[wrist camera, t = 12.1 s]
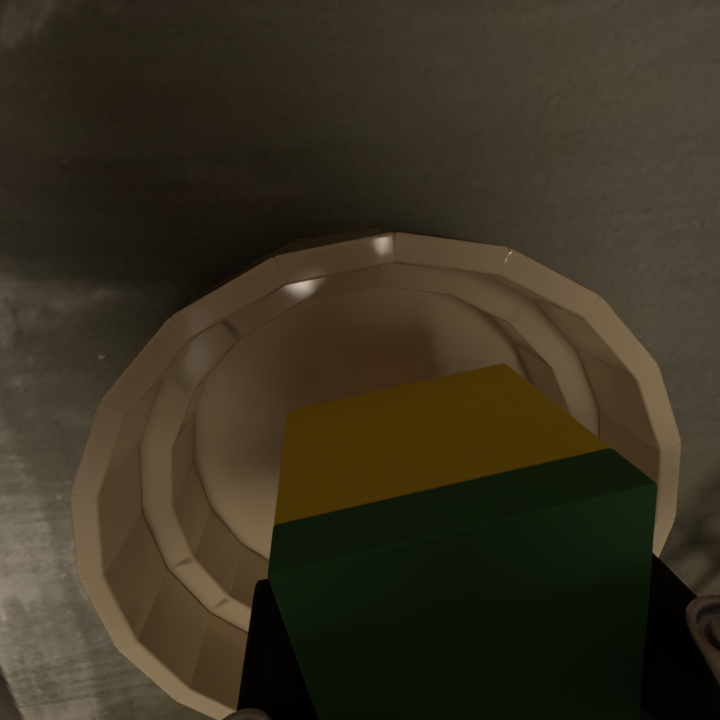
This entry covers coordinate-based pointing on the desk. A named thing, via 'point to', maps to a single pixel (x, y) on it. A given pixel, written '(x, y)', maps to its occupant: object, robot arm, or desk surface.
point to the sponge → (461, 556)
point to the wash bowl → (309, 387)
